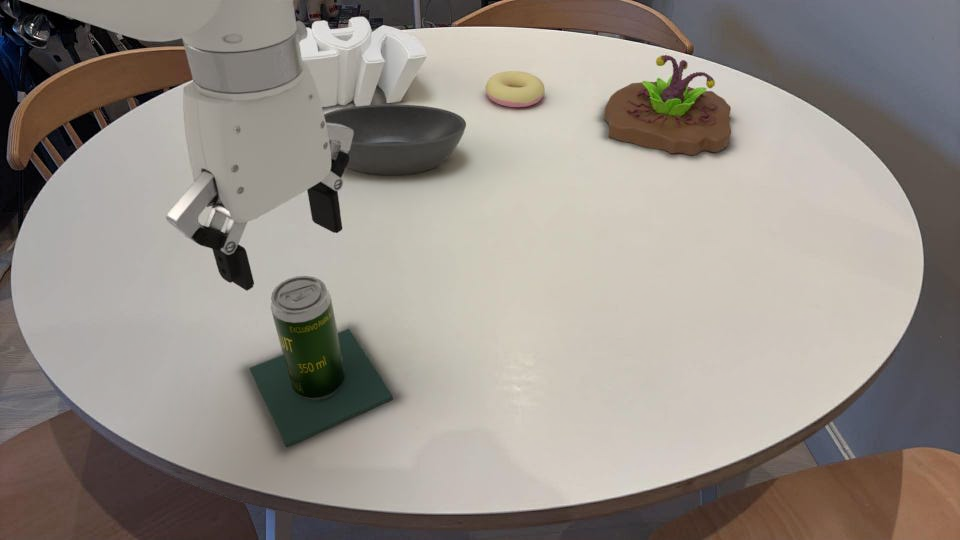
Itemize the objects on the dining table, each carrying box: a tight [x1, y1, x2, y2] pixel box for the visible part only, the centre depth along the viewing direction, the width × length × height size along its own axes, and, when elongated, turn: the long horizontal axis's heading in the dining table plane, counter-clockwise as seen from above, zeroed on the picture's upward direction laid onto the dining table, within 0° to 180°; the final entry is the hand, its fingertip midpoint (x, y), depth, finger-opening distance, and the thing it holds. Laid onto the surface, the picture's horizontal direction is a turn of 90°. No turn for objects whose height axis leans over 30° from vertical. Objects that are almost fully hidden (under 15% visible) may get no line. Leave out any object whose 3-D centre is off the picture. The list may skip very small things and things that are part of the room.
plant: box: [603, 54, 732, 156], centre depth 109 cm, size 20×20×11 cm
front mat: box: [249, 328, 394, 448], centre depth 71 cm, size 11×11×1 cm
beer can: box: [270, 275, 345, 400], centre depth 67 cm, size 5×5×12 cm
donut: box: [485, 70, 546, 108], centre depth 118 cm, size 10×5×9 cm
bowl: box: [324, 103, 467, 176], centre depth 102 cm, size 12×22×6 cm, turn 89°
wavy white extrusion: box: [299, 16, 428, 108], centre depth 116 cm, size 35×16×10 cm, turn 103°
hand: (285, 252), depth 59 cm, fingers open, 9 cm apart
